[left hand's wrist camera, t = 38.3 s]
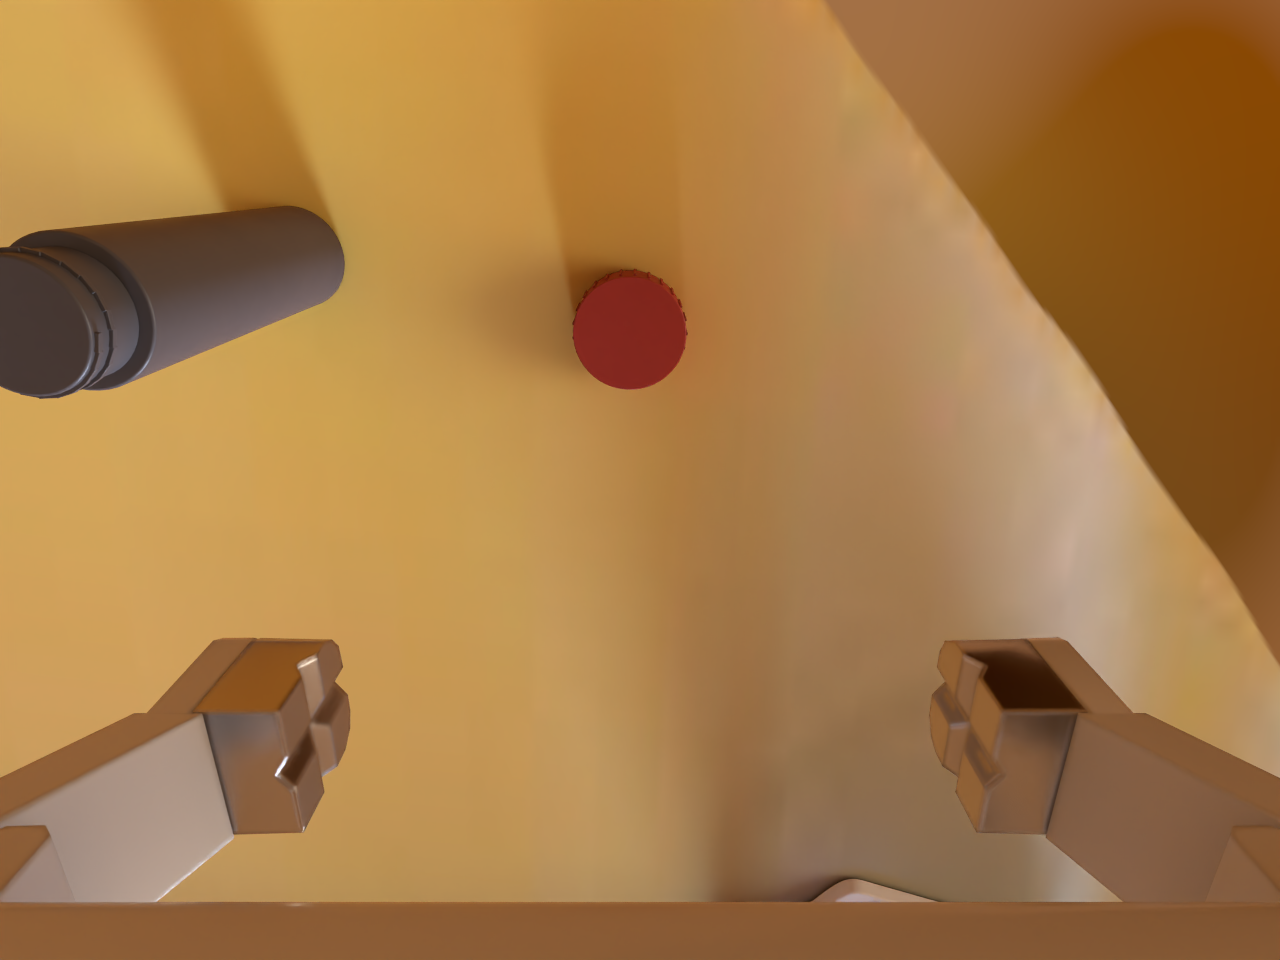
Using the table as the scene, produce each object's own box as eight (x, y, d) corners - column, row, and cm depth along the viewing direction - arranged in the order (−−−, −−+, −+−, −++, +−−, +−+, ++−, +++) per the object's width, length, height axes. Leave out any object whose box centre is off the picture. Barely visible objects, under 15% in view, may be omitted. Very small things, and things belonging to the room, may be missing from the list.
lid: (635, 400, 38) (635, 413, 36) (552, 330, 37) (547, 340, 35) (708, 320, 37) (712, 329, 35) (624, 244, 35) (623, 249, 33)
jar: (245, 294, 36) (-65, 392, 20) (248, 195, 35) (-86, 217, 19) (341, 315, 37) (110, 427, 21) (349, 218, 35) (105, 259, 19)
